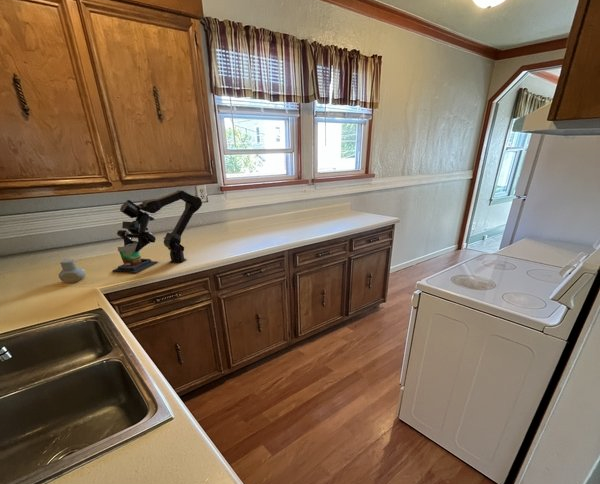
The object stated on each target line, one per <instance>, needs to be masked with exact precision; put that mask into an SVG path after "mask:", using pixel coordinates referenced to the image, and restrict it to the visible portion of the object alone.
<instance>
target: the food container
mask: <svg viewBox="0 0 600 484" xmlns="http://www.w3.org/2000/svg"><path fill="white" fill-rule="evenodd" d="M132 241H133V243H131V244H127V245H125V246H124V245H123V246H117V252H119V255H120V257H121V260H122V263H123V264H124V266H125V267H128V266H135V265H138V264H140V263H141V259H142V257H141V250H140V251H138V252H135V250H136V246H137V243H138V240H132Z"/></svg>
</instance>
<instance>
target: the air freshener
mask: <svg viewBox="0 0 600 484" xmlns="http://www.w3.org/2000/svg"><path fill="white" fill-rule="evenodd" d="M59 263H60V266H61V269H62V270H61V271H60V272H59V273H58V279H59V280H60V281H62V282H64V283H68V284H74V283H78V282H79V281H82V280H83V279H85V278H86V275H87V273H86V270H84V269H83V268H82V267H78V265H77V263H76V260H75V258H67V259H63V260H61V261H59Z"/></svg>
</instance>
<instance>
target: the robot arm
mask: <svg viewBox="0 0 600 484" xmlns="http://www.w3.org/2000/svg"><path fill="white" fill-rule="evenodd" d="M178 201H183V202H185V203H184V210H183V212H182V213H181V215H180V217H179V219H178V221H177V223H176V225H175V227H174V228H173V230H172V231H171V232H166V234H165V236H164V237H163V245H164V247H166V248H167V249H168V251H169V256H170V261H169V262H170V263H172V264H173V263H175V264H181V263H183V262H185V261H187V258H185V255H184V254H185V253H184V251H185V246H183V245H182V244H181V242H182V236H183V233H184V231H185V230H186V228H187V226H188V224H189V222H190V220H191V219H192V217H193V215H194V214H195V213H196V212H197V211H199V210H200V208H201V207H202V205H203V201H202V199H201V197H199V196H196V195H195V196H194V195H192V194H190V193H188V192H186V191H184V190H180V189H178V190H176V191H173V192H172V193H171V192H170V193H169V194H166V195H163V196H161V197H158V198H151V199H145V200H143V201H141V203H140V204H135V203H134V202H133V201H132V200H130V199H126V201H124V203H123V204H121V206H120V208H119V212H120V213H122V214H124V215H126V216H127V217H129V218H130V219H134V218H135V220H132V221H127V220H124V221H122V226H121V228H122V229H118V230H117V232H116V235H117V236H119V238H121V239H123V246H125V245H127V244H131V243H133V241H134V240H133V238H134V239H137V242H138V243H137V246H136V250H135V252H138V251H140V252H141V251H142V249H143V248H145V247H146V246H147V245H149V244H151V243H155V242H156V240H157V239H156V236H155V235H154V234H153V233H151V232H150V231H148V230H149V228H148V226H149V223H150V222H153V221H155V218H154V215H153V214H156V213H157V212H158V211H160V210H162V209H163V207H165V206H168V205H170V204H172V203H174V202H178Z"/></svg>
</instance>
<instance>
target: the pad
mask: <svg viewBox="0 0 600 484" xmlns="http://www.w3.org/2000/svg"><path fill="white" fill-rule="evenodd" d="M156 264H158V261H155V260H152V259H150V258H141V263H140V264H138V265H135V266H128V267H125V266H124V263H123V264H121V265H118V266H117V268H114V269H112V272H113V273H124V274H134V275H135V274H138V273H140V272H142V271H144V270H146V269H148V268H150V267H152V266H154V265H156Z"/></svg>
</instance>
